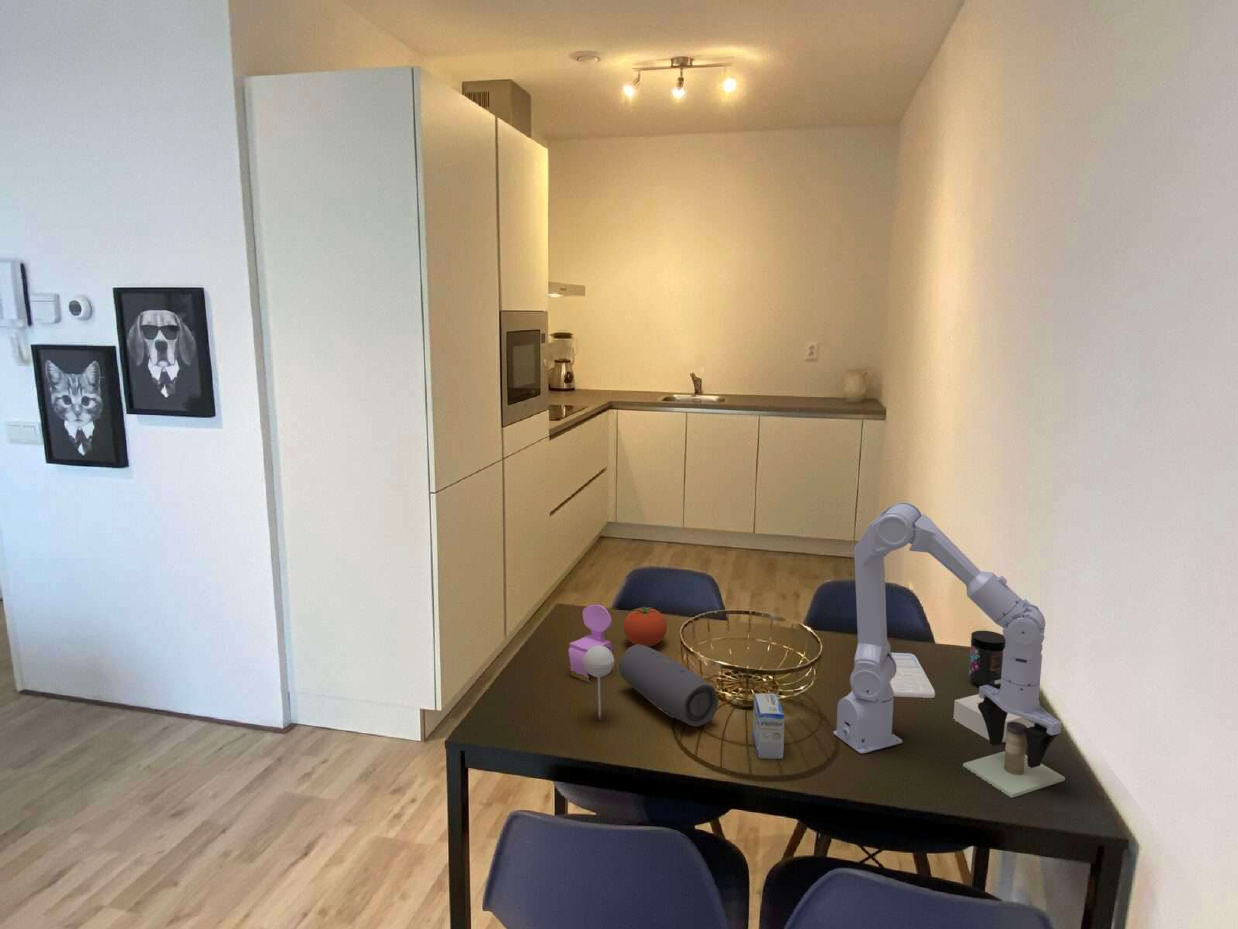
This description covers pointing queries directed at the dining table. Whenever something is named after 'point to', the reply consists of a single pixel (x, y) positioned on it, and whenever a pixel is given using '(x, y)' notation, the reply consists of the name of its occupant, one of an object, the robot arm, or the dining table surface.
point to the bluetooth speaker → (669, 685)
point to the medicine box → (768, 726)
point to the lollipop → (598, 665)
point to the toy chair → (590, 637)
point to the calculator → (910, 678)
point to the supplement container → (986, 658)
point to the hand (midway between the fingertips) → (1014, 754)
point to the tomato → (645, 626)
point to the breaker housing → (980, 716)
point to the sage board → (1012, 775)
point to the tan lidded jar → (1015, 748)
